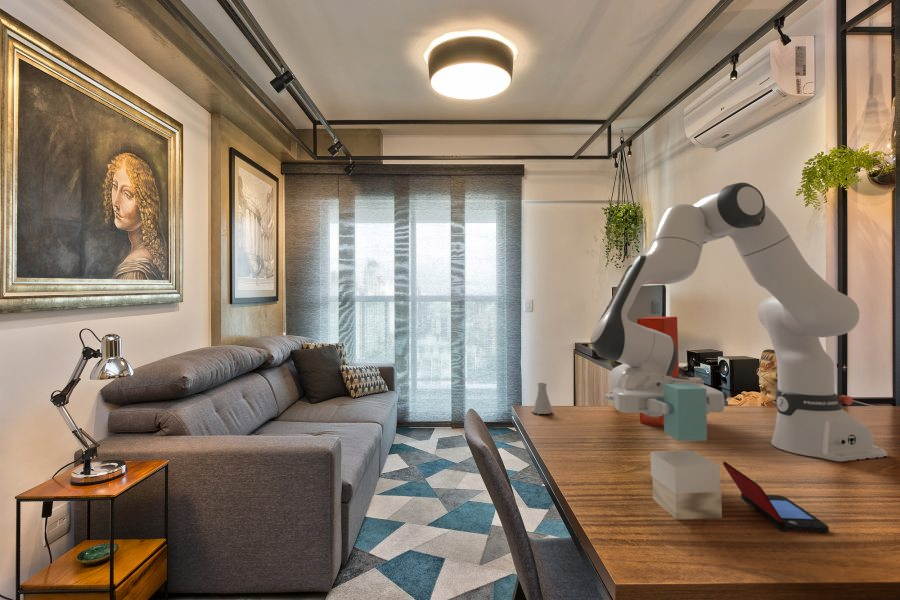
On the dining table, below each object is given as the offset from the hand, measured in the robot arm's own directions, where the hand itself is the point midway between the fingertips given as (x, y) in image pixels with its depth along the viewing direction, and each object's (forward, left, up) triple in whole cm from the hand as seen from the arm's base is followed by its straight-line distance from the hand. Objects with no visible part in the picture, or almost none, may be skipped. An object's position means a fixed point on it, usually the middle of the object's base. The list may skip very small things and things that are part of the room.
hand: (687, 409), depth 79 cm
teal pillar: (0, -1, -5) cm, 5 cm away
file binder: (-24, -61, -18) cm, 68 cm away
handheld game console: (-13, +2, -18) cm, 23 cm away
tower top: (0, -1, -14) cm, 14 cm away
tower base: (0, -1, -18) cm, 18 cm away
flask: (+11, -71, -18) cm, 74 cm away
